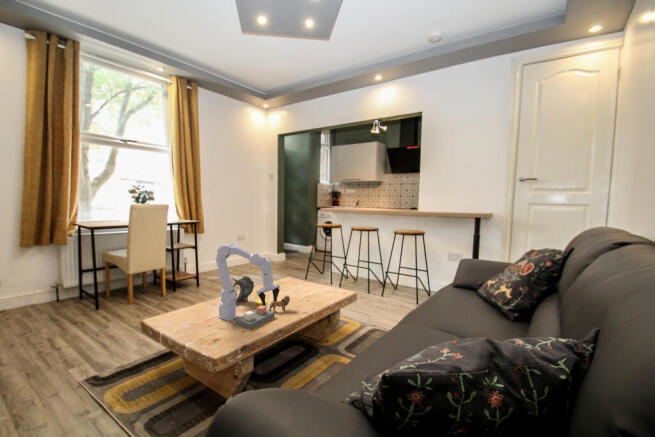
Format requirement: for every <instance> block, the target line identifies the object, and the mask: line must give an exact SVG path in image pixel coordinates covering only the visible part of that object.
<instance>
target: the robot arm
mask: <svg viewBox="0 0 655 437" xmlns="http://www.w3.org/2000/svg"><path fill="white" fill-rule="evenodd" d="M216 252H217V253H216V258H215V261H216V265H217V266H216V267H217V270H218V275H219V280H220V284H221V288H222V289H221V292H220V295H221V296H220V304H219V307H218V312H219V314H218V316H217V318H219V319H222V320H225V321H227V322H231V321H232V320H235V319H237V318H239V317H240V315H238V314H236V312H237V308H236V307H237V306H236V298H238V292H237V291H236V289H235V286H234V287H233V284H232V280H231V279H232V278H231V275H230V271H229V267H228V262H227V260H228V258H229V257H230V256H233V255H238V256H239V257H242V258H244V259H247V260H248V262H249V263H250V264H252V265H255V266H257V267H259V268H260V270H261V273H262V274H261V276H262V286H263V287H262V288H260V289H257V290H256V295H257V296H258V297H259V299H260V301H261V305H262V306H265V307H266V295H267V294H265V293H267V292H270V291H272V297H273V301H275V302H277V301H278V296H279V293H280V292H281V290H280V289H281V284H275V285H274V279H273V278H274V277H273V276H274V275H273V269H272V267H273V265H274V263H273V261H272V259H271V258H266V257H264V256H260V254H259V253H250V252H248V251H247V250H245V249H243V248H241V247H240V246H238V245H236V244H234V243H232V242H229V243H227V244H223V245H220V246H219V248H218V249H217V251H216Z"/></svg>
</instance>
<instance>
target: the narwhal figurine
mask: <svg viewBox="0 0 655 437" xmlns="http://www.w3.org/2000/svg"><path fill="white" fill-rule="evenodd" d="M231 279H232V280H233V281H234V282H235V283H234V284H232V286H233V287H234V288H235V287H236V286H239V294H238V295H237V298H236V307H237V306H238V304H239V303H248V302H249V297H250V296H251V294H252V293H253V290H254V289H255V286H254V285H255V283H254V281H253V280H252V278H250V277H249V276H246V275H244V276H242V278H239V279H236V278H234V277H231Z"/></svg>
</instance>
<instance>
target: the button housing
mask: <svg viewBox="0 0 655 437" xmlns="http://www.w3.org/2000/svg"><path fill="white" fill-rule="evenodd" d="M251 312H254V319H253V320H251V321H247V320H244V315H241V316H239V317H237V318H235V319H234V325H236V326H239V327H242V328H245V329H247V330H253V329H255V328H257V327H258V326H261V325H262V324H265V323H266V322H268V321H269V320H272V319H273V318H275V313H276V312H274V311H273V310H272V311H269V309H266V313H265V314H263V315H259V314H256V309H254V310H252V311H251Z"/></svg>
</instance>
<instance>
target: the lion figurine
mask: <svg viewBox="0 0 655 437" xmlns="http://www.w3.org/2000/svg"><path fill="white" fill-rule="evenodd" d="M290 302H291V297H290V296H289V295H285V296H284V297H283V298H282V299H281V300H277V302H275V301H274V300H273V301H272V302H270V304H269V309H268V311H272V312H275V313H277V311H276V307H279V308H280V307H281V310H282V311H284V312H286V311H287V310H286V306H288V305H289V304H290ZM272 308H273V309H272Z"/></svg>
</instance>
